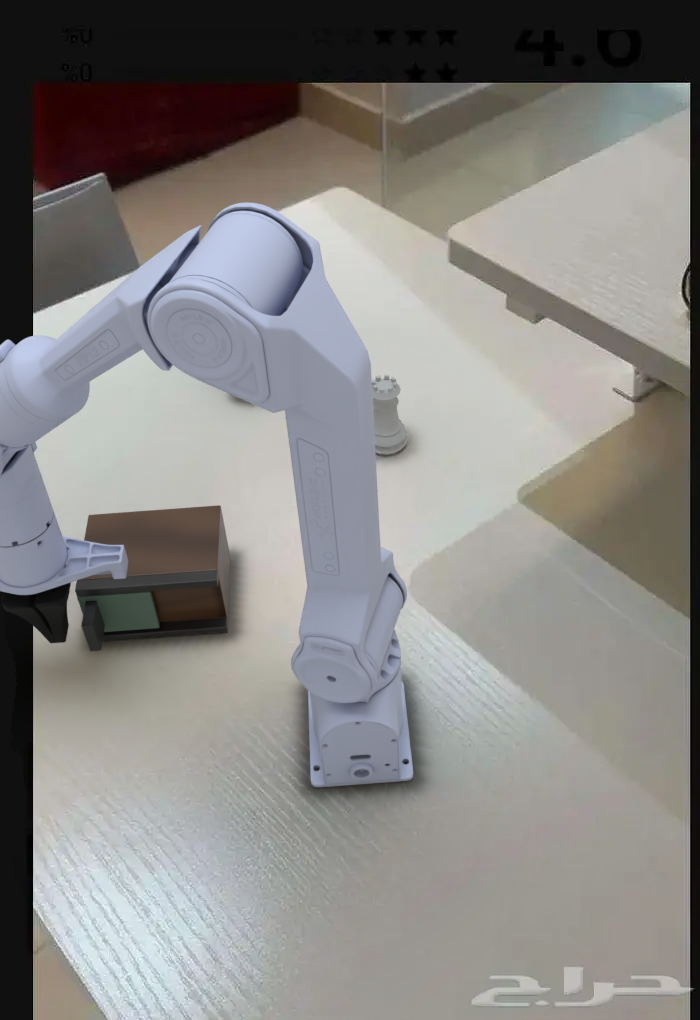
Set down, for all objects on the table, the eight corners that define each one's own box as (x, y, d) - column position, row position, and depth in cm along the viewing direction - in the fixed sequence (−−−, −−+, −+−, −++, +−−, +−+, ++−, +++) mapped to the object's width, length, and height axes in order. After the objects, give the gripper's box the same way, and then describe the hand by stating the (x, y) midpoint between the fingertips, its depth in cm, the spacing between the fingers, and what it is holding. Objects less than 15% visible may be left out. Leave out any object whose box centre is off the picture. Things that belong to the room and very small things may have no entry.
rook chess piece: (358, 436, 112) (355, 375, 107) (397, 425, 113) (396, 364, 108) (374, 461, 109) (371, 400, 104) (414, 450, 110) (413, 389, 105)
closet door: (157, 653, 91) (146, 617, 88) (85, 658, 91) (72, 622, 88) (160, 623, 94) (150, 587, 90) (90, 628, 94) (77, 592, 90)
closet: (227, 633, 94) (216, 580, 89) (92, 642, 94) (74, 590, 89) (230, 557, 100) (220, 504, 96) (104, 567, 100) (88, 514, 95)
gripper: (116, 478, 83) (148, 592, 93) (-68, 491, 83) (-17, 604, 93) (106, 542, 78) (141, 655, 88) (-89, 556, 78) (-34, 668, 88)
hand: (59, 633), depth 90 cm, fingers closed
